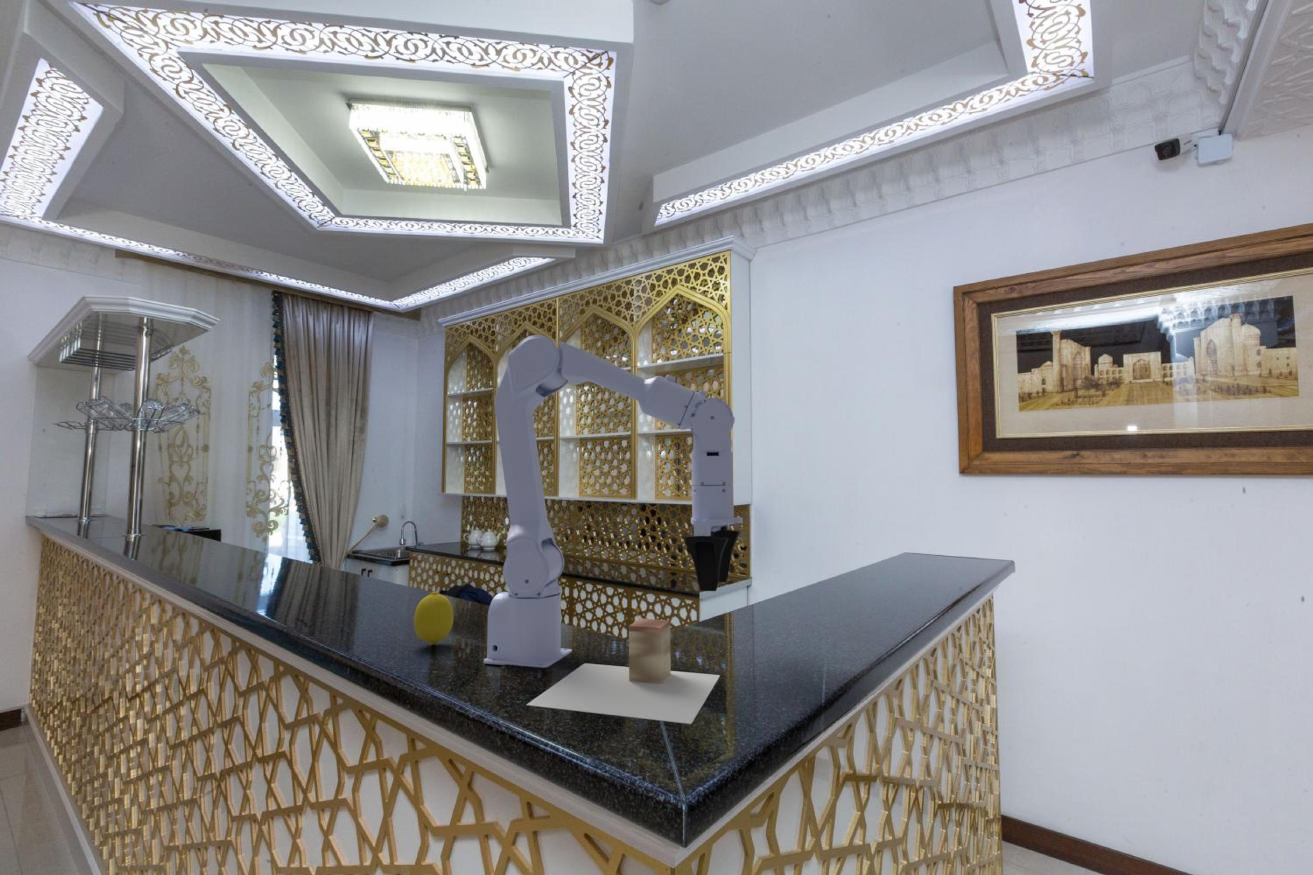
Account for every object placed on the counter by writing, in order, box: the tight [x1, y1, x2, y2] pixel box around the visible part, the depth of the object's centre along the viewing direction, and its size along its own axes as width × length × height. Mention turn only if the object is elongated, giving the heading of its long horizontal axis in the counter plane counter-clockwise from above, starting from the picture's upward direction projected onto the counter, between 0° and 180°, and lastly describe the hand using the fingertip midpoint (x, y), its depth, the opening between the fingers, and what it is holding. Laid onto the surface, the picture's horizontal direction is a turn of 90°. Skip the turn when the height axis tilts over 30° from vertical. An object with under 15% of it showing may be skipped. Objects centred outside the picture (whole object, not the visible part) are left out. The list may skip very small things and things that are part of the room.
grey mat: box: [526, 662, 721, 725], centre depth 65 cm, size 18×15×1 cm
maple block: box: [628, 618, 672, 684], centre depth 69 cm, size 4×4×6 cm
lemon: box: [413, 591, 454, 645], centre depth 86 cm, size 6×6×8 cm
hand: (714, 585), depth 78 cm, fingers open, 7 cm apart
